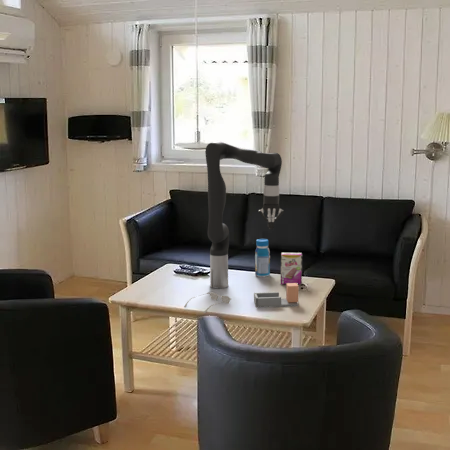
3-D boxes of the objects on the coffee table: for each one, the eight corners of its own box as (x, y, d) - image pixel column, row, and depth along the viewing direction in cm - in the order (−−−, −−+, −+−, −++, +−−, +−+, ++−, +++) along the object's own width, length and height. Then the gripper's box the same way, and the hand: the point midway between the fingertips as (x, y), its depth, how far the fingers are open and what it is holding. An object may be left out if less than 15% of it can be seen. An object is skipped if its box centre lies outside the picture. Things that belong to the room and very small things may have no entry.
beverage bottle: (262, 278, 365) (261, 242, 361) (251, 275, 372) (251, 239, 368) (273, 275, 371) (273, 240, 367) (263, 272, 377) (262, 237, 373)
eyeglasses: (231, 305, 322) (231, 297, 321) (205, 314, 309) (204, 306, 308) (209, 298, 332) (209, 291, 331) (182, 307, 319) (182, 299, 319)
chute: (256, 307, 316) (256, 298, 315) (254, 301, 325) (253, 292, 324) (298, 306, 318) (298, 296, 317) (294, 300, 326) (294, 291, 326)
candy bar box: (280, 284, 353) (280, 254, 349) (280, 282, 357) (280, 252, 354) (301, 285, 352) (302, 254, 348) (301, 282, 356) (302, 252, 353)
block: (288, 302, 319) (288, 286, 317) (286, 299, 324) (286, 283, 322) (298, 302, 319) (298, 285, 318) (296, 298, 324) (296, 282, 323)
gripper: (258, 195, 321) (258, 230, 325) (286, 195, 322) (285, 230, 326) (257, 193, 329) (256, 227, 332) (283, 192, 329) (283, 227, 333)
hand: (270, 229), depth 329 cm, fingers closed
